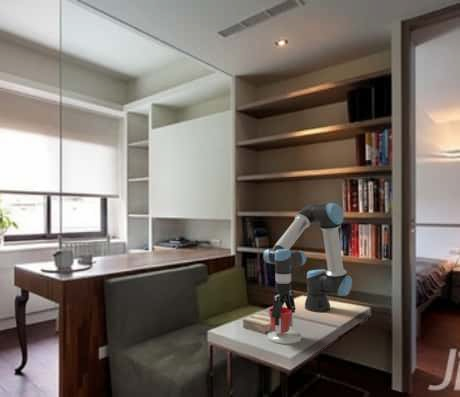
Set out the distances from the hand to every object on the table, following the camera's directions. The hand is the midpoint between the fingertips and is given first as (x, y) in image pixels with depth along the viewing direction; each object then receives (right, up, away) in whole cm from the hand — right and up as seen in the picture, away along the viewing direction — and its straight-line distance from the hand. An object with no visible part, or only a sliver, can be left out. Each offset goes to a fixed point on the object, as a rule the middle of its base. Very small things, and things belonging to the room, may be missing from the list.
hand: (284, 328), depth 163 cm
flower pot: (-2, -1, +2) cm, 3 cm away
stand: (-9, -5, +15) cm, 18 cm away
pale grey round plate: (0, -4, 0) cm, 4 cm away
